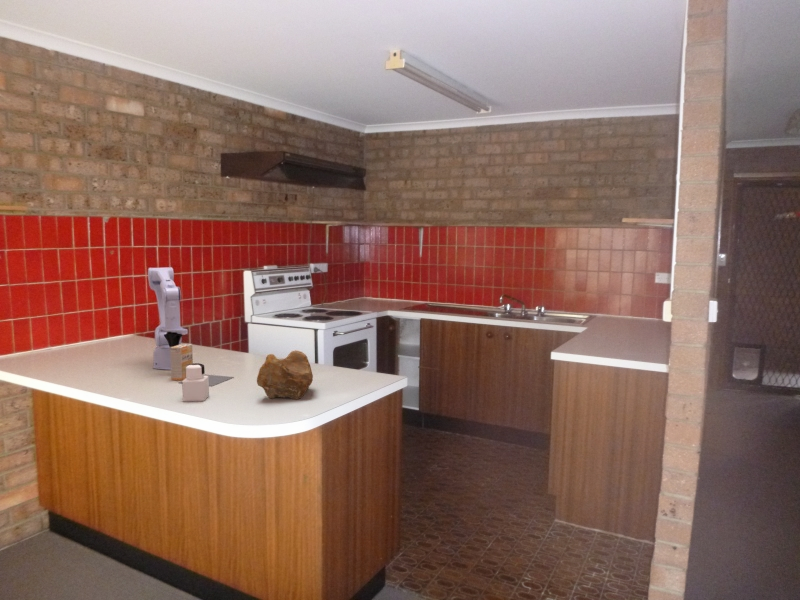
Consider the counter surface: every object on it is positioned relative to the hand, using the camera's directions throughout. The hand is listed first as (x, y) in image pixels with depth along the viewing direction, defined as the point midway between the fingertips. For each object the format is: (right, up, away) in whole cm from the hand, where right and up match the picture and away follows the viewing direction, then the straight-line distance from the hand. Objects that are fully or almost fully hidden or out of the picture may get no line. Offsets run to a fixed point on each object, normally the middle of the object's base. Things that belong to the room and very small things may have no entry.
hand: (174, 350), depth 234 cm
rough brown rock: (+52, -13, -29) cm, 61 cm away
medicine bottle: (+21, -14, -33) cm, 41 cm away
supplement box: (+5, -10, -5) cm, 13 cm away
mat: (+16, -11, -9) cm, 21 cm away
